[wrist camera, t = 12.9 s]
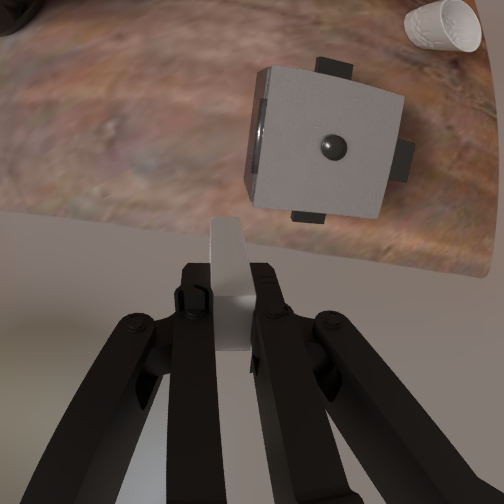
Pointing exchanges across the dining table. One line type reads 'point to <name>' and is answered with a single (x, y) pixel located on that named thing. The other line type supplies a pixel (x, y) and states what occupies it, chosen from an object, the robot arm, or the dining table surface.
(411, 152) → the lid
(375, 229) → the dining table surface
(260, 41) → the dining table surface
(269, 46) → the dining table surface
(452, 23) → the white cup
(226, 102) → the dining table surface
